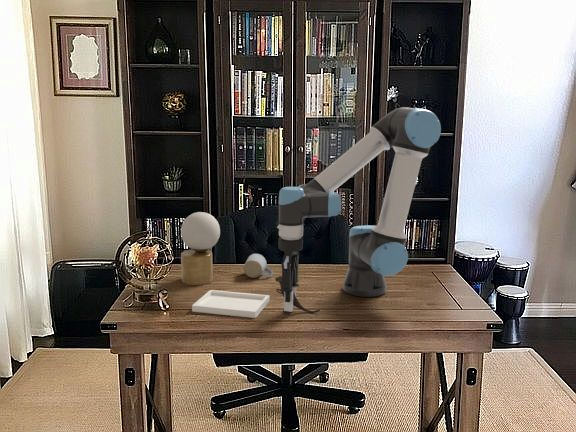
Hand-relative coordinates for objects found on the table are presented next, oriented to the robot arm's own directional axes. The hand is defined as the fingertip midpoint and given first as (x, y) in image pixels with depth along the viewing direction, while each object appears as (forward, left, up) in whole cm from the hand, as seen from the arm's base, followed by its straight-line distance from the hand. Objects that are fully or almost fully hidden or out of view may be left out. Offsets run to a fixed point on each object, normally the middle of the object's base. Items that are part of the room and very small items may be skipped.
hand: (289, 308), depth 202 cm
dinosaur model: (-2, 0, -1) cm, 3 cm away
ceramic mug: (+21, -34, -1) cm, 40 cm away
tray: (+19, 0, -1) cm, 20 cm away
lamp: (+40, -24, -1) cm, 47 cm away
